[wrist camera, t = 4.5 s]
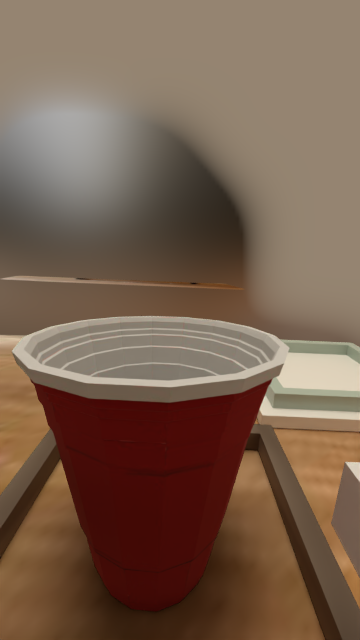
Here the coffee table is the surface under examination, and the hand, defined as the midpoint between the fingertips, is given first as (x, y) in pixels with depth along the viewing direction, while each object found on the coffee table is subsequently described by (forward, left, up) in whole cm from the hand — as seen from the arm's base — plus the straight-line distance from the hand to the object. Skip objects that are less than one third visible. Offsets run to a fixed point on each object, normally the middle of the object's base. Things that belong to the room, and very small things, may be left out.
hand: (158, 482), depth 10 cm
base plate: (+18, +23, -7) cm, 30 cm away
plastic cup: (0, +3, -7) cm, 8 cm away
